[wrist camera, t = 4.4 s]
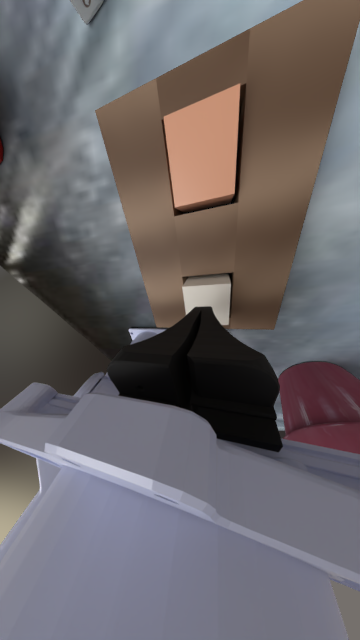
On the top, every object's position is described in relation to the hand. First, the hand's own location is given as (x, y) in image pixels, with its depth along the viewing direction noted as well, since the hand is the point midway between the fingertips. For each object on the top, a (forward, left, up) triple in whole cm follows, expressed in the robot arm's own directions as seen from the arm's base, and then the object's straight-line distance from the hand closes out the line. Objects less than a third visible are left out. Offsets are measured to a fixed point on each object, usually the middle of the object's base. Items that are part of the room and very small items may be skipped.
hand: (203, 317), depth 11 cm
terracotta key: (+10, 0, -7) cm, 12 cm away
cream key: (0, 0, -6) cm, 6 cm away
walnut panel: (+5, 0, -8) cm, 10 cm away
